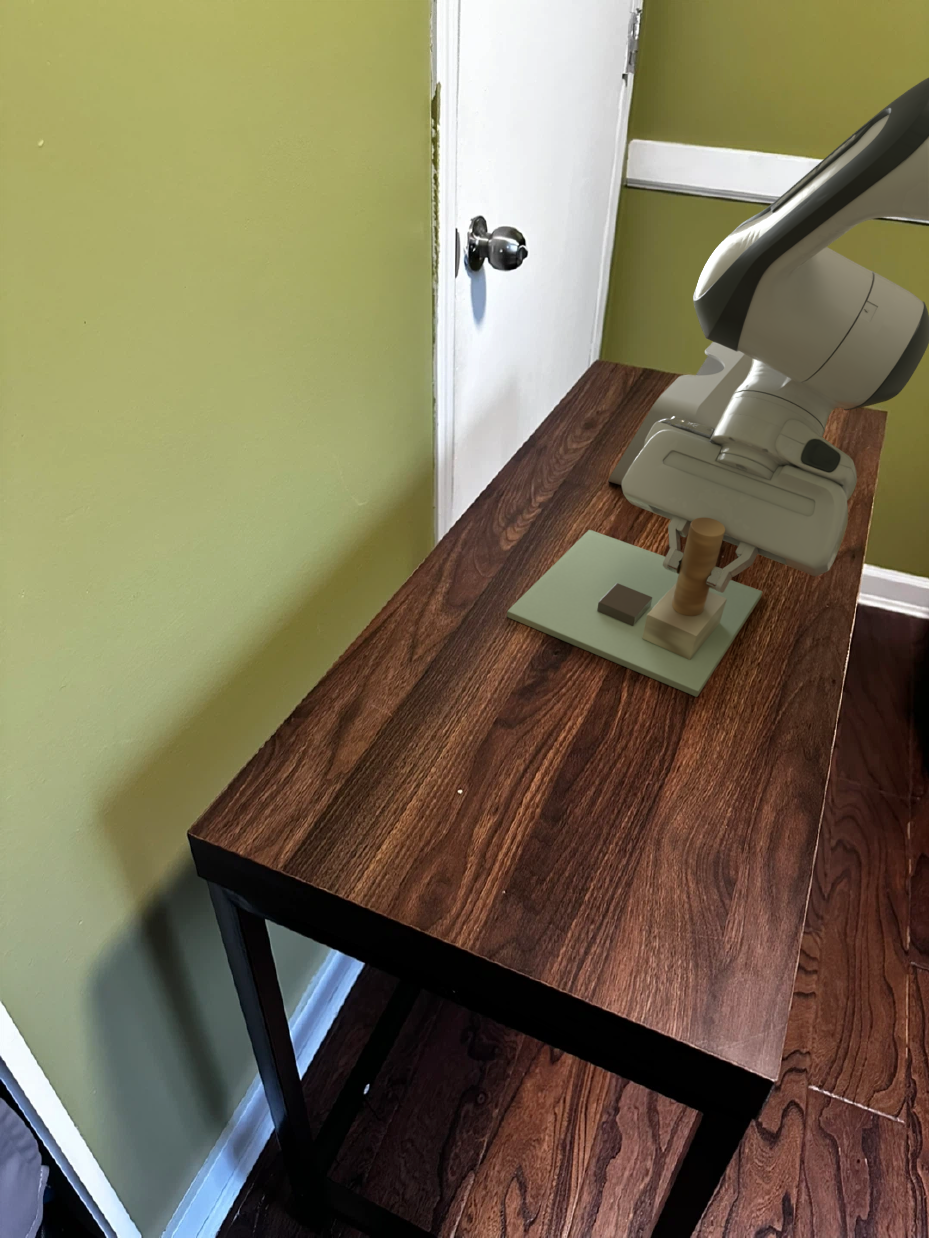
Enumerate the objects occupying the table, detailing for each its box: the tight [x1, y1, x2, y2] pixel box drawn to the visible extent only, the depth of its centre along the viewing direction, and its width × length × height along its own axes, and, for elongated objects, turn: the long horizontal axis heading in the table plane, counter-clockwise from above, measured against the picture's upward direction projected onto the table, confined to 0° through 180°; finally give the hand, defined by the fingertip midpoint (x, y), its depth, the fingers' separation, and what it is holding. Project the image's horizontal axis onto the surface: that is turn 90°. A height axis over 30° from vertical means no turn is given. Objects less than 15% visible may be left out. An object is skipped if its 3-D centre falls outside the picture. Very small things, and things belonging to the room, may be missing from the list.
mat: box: [506, 529, 763, 698], centre depth 87 cm, size 20×18×1 cm
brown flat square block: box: [597, 583, 652, 626], centre depth 85 cm, size 4×4×1 cm
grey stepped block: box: [607, 341, 752, 486], centre depth 107 cm, size 25×16×12 cm, turn 150°
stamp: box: [642, 518, 727, 660], centre depth 79 cm, size 5×7×12 cm
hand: (692, 579), depth 78 cm, fingers closed on stamp, 3 cm apart
